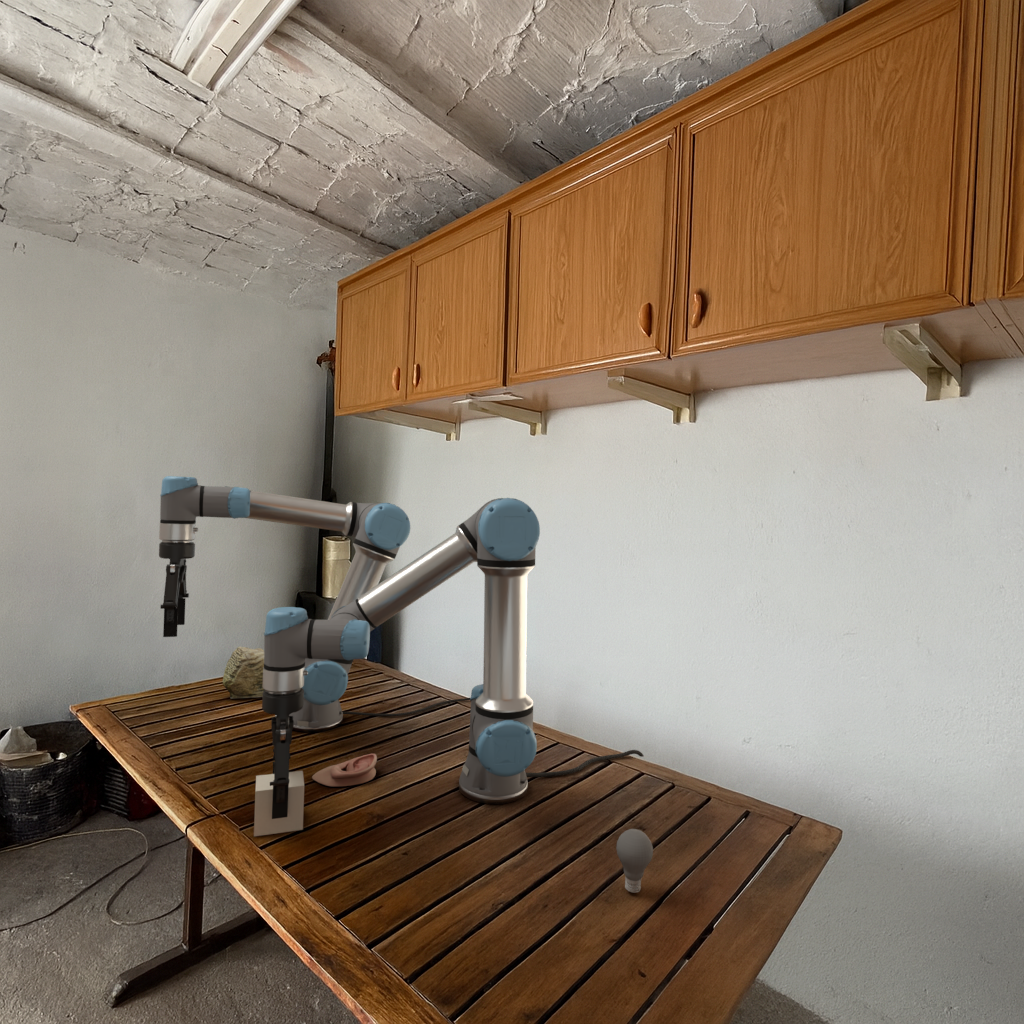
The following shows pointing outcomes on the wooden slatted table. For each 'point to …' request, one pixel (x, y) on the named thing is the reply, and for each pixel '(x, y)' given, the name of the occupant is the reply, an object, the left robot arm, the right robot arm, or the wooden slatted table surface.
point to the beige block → (264, 805)
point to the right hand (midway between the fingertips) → (279, 805)
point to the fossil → (245, 673)
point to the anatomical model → (348, 772)
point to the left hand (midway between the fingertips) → (174, 630)
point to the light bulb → (634, 857)
